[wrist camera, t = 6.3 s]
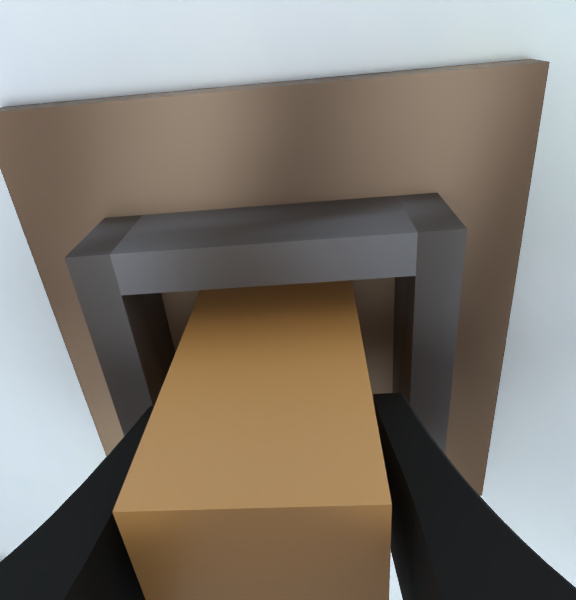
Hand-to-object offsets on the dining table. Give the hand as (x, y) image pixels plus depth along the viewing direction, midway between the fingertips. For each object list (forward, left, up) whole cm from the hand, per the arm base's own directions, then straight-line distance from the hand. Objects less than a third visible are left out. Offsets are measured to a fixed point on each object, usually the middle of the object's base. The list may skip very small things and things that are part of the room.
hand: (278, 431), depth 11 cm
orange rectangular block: (0, 0, -3) cm, 3 cm away
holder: (0, 0, -5) cm, 5 cm away
